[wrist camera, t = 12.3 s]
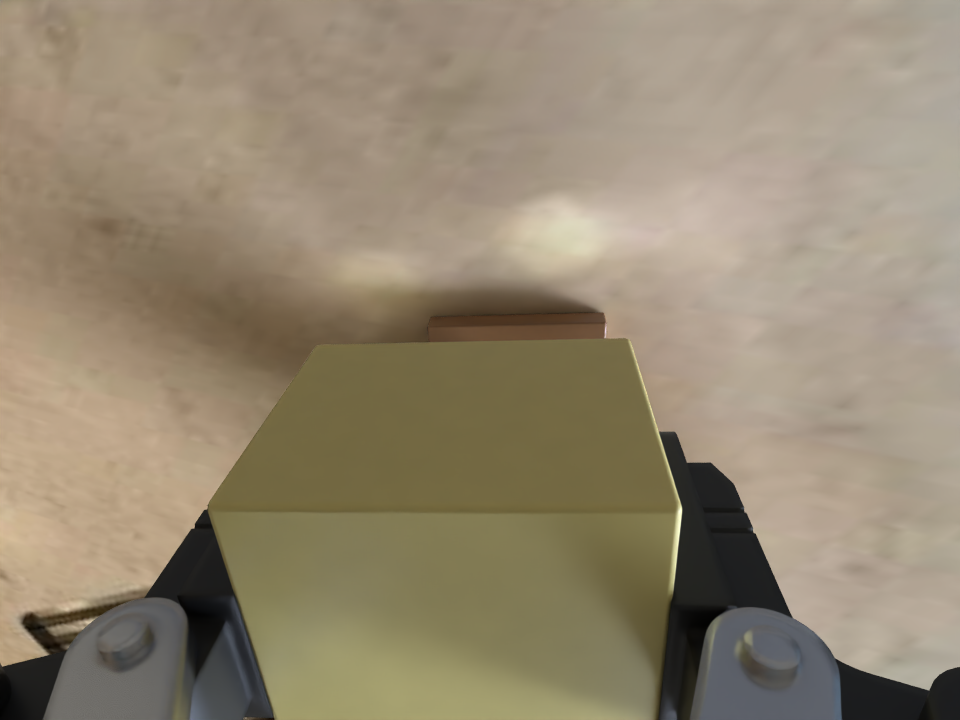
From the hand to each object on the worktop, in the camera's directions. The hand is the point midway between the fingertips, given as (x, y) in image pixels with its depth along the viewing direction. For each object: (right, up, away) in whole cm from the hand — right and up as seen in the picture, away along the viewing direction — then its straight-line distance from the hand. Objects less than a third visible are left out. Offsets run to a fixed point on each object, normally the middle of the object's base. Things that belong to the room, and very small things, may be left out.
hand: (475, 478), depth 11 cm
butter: (0, 0, 0) cm, 0 cm away
